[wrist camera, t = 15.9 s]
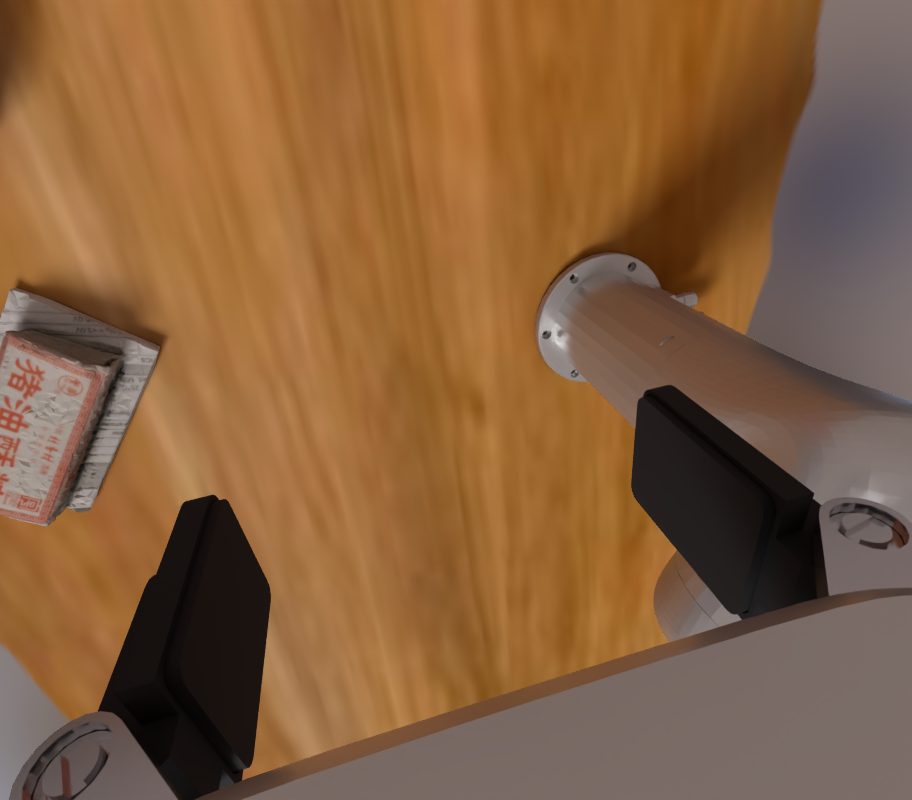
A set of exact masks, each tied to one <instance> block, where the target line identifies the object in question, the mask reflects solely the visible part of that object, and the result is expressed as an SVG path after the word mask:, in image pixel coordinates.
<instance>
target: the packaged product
mask: <svg viewBox="0 0 912 800" xmlns="http://www.w3.org/2000/svg"><path fill="white" fill-rule="evenodd" d="M159 350H160V346H158V345H156V344H154V343H152V342H149V341H147V340H145V339H142V338H140V337H137V336H135V335H133V334H130V333H128V332H125V331H123V330H121V329H118V328H116V327H113V326H111V325H109V324H106V323H104V322H102V321H100V320H97V319H95V318H93V317H90V316H88V315H86V314H83V313H81V312H79V311H76V310H74V309H72V308H69V307H67V306H65V305H62V304H60V303H57V302H55V301H53V300H50V299H48V298H45V297H43V296H40V295H37V294H34V293H31V292H28V291H25V290H22V289H19V288H15V289H11V290H9V295H8V298H7V301H6V305H5V308H4V310H3V312H2V314H1V318H0V515H3V516H6V517H10V518H11V519H16V520H19V521H24V522H30V523H34V524H39V525H42V526H48V525H49V524H50V523H51V522H53V521H55V519H56V517H57V516H58V515H60V514H61V513H62V512H63V511H64V509H65V508H68V509H72V510H75V511H76V512H84V511H89V510H90V508H91V507H92V505H93V503H94V501H95V499H96V496H97V493H98V490H99V487H100V485H101V483H102V481H103V479H104V477H105V475H106V473H107V471H108V469H109V467H110V465H111V463H112V461H113V458H114V456H115V453H116V451H117V448H118V446H119V444H120V442H121V440H122V438H123V436H124V434H125V432H126V430H127V428H128V426H129V424H130V421H131V419H132V417H133V415H134V412H135V410H136V408H137V405H138V403H139V401H140V399H141V397H142V394H143V392H144V390H145V388H146V385H147V383H148V381H149V379H150V376H151V374H152V372H153V370H154V367H155V364H156V360H157V357H158V353H159Z"/></svg>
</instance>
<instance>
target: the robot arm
mask: <svg viewBox="0 0 912 800" xmlns="http://www.w3.org/2000/svg"><path fill="white" fill-rule="evenodd" d="M572 275H573V276H572ZM571 276H572V278H570V277H571ZM697 301H698V299H697V295H696V293H695V292H694V291H690V292H686V293H681V294H678V295H673V294H671V293H669V292H667V291H665V290H663V289H661V286H660V283H659V281H658V279H657V277H656V275H655V273H654V272H653V271H652V270H651V269H650V268H649V267H648V265H646V264H645V263H643V262H642V261H640V260H639V259H637V258H634V257H632V256H630V255H627V254H622V253H618V252H604V253H599V254H594V255H591V256H588V257H586V258H583V259H581V260H579V261H578V262H576V263H574V264H573V265H571V266H570V267H568V268H567V269H566V270H565V271H564V272H563V273H561V274H560V275H559V276H558V277H557V278H556V280H555V281H554V282H553V283H552V285H551V286H550V287H549V289H548V290H547V292H546V294H545V295H544V297H543V299H542V301H541V304H540V307H539V309H538V312H537V318H536V323H535V337H536V342H537V347H538V349H539V351H540V354H541V356H542V358H543V359H544V360H545V362H546V363H547V364H548V365H549V366H550V367H551V368H552V369H553V370H554V371H555V372H556V373H557V374H559V375H561V376H562V377H564V378H566V379H569V380H572V381H578V382H589V383H590V384H591V385H592V386H593V387H594V388H595V389H596V390H597V391H598V392H599V393H600V394H601V395H602V396H603V397H604V398H605V399H606V400H607V401H608V402H609V403H610V404H611V405H612V406H613V407H614V408H615V409H616V410H617V411H618V412H619V413H620V414H621V415H622V416H623V417H624V418H625V419H626V420H627V421H628V422H629V423H630V424H631V425H632V426H633V427H634V428H635V441H634V455H633V468H632V482H631V488H632V492H633V495H634V497H635V499H636V500H637V501H638V503H639V504H640V505H641V506H642V508H643V509H644V510H645V511H646V512H647V514H648V515H649V516H650V517H651V519H652V520H653V521H654V522H655V523H656V525H657V526H658V527H659V528H660V530H661V531H662V532H663V533H664V534H665V536H666V537H667V538H668V539H669V541H670V542H671V543H672V544H673V545H674V547H675V548H676V549H677V551H676V552H675V553H674V555H673V556H672V557H671V559H670V560H669V562H668V563H667V565H666V566H665V568H664V569H663V571H662V573H661V575H660V577H659V578H658V581H657V583H656V586H655V590H654V599H653V602H654V610H655V614H656V617H657V620H658V623H659V625H660V627H661V629H662V631H663V633H664V635H665V636H666V638H667V639H668V641H669V643H666V644H663V645H659V646H656V647H653V648H650V649H646V650H643V651H640V652H637V653H634V654H630V655H627V656H624V657H621V658H617V659H614V660H611V661H608V662H605V663H602V664H598V665H595V666H592V667H589V668H586V669H583V670H579V671H576V672H573V673H570V674H567V675H564V676H560V677H557V678H554V679H551V680H548V681H545V682H541V683H538V684H535V685H532V686H529V687H526V688H523V689H519V690H516V691H513V692H510V693H507V694H504V695H500V696H497V697H494V698H491V699H488V700H485V701H482V702H478V703H475V704H472V705H469V706H466V707H463V708H460V709H457V710H454V711H450V712H447V713H444V714H441V715H438V716H435V717H432V718H429V719H426V720H422V721H419V722H416V723H413V724H410V725H407V726H404V727H401V728H398V729H395V730H391V731H388V732H385V733H382V734H379V735H376V736H373V737H370V738H367V739H364V740H360V741H357V742H354V743H351V744H348V745H345V746H342V747H339V748H336V749H333V750H330V751H327V752H324V753H321V754H318V755H315V756H312V757H309V758H306V759H304V760H301V761H298V762H295V763H292V764H289V765H286V766H283V767H280V768H277V769H274V770H271V771H268V772H265V773H262V774H260V775H257V776H254V777H251V778H248V779H245V780H243V781H242V775H243V769H246V768H249V767H250V766H251V764H252V761H253V756H254V747H255V738H256V729H257V720H258V711H259V702H260V693H261V684H262V675H263V666H264V657H265V647H266V638H267V629H268V620H269V611H270V602H271V593H270V587H269V584H268V581H267V579H266V577H265V575H264V573H263V571H262V569H261V567H260V565H259V563H258V561H257V559H256V557H255V555H254V553H253V551H252V549H251V547H250V545H249V542H248V540H247V538H246V536H245V534H244V532H243V530H242V528H241V526H240V524H239V522H238V520H237V518H236V516H235V514H234V512H233V510H232V508H231V506H230V504H229V502H228V501H227V500H226V499H223V500H219V499H218V498H217V497H216V496H215V495H210V496H206V497H202V498H197V499H193V500H189V501H186V502H184V503H183V504H182V506H181V509H180V511H179V514H178V517H177V520H176V522H175V525H174V528H173V530H172V533H171V536H170V539H169V541H168V544H167V547H166V549H165V552H164V555H163V558H162V560H161V563H160V566H159V569H158V571H157V574H156V575H154V576H153V577H151V578H150V579H149V581H148V583H147V584H146V586H145V589H144V592H143V594H142V597H141V599H140V602H139V605H138V607H137V610H136V613H135V615H134V618H133V620H132V623H131V626H130V628H129V631H128V634H127V636H126V639H125V641H124V644H123V647H122V649H121V652H120V655H119V657H118V660H117V662H116V665H115V668H114V670H113V673H112V676H111V678H110V681H109V683H108V686H107V689H106V691H105V694H104V697H103V699H102V702H101V704H100V707H99V710H98V712H94V713H90V714H85V715H83V716H81V717H79V718H77V719H75V720H73V721H70V722H69V723H67V724H66V725H64V726H63V727H62V728H60V729H59V730H57V731H56V732H54V733H53V734H52V735H51V736H50V737H48V738H47V739H46V740H45V741H44V742H43V743H42V744H41V745H40V746H39V747H38V748H37V749H36V750H35V751H34V753H33V754H32V755H31V756H30V758H29V759H28V760H27V762H26V763H25V764H24V765H23V767H22V768H21V770H20V773H19V774H18V776H17V778H16V780H15V782H14V784H13V786H12V789H11V793H10V797H9V800H912V401H911V400H908V399H905V398H902V397H899V396H895V395H892V394H889V393H886V392H883V391H880V390H877V389H874V388H870V387H867V386H864V385H861V384H858V383H855V382H852V381H849V380H846V379H843V378H840V377H838V376H835V375H832V374H830V373H827V372H825V371H822V370H819V369H817V368H814V367H811V366H808V365H807V364H804V363H802V362H800V361H798V360H796V359H793V358H791V357H789V356H787V355H785V354H783V353H780V352H778V351H776V350H774V349H772V348H770V347H768V346H766V345H764V344H762V343H760V342H758V341H756V340H754V339H752V338H750V337H748V336H746V335H744V334H742V333H740V332H738V331H736V330H734V329H732V328H730V327H728V326H726V325H724V324H722V323H720V322H718V321H716V320H714V319H712V318H710V317H709V316H707V315H705V314H704V313H703V312H700V311H697V310H695V309H693V308H691V307H692V306H695V305H696V304H697ZM544 331H545V333H543V332H544Z"/></svg>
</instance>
